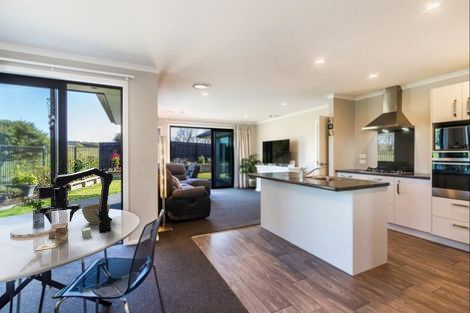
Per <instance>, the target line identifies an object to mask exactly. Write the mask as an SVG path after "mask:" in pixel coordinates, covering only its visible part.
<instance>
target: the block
mask: <svg viewBox="0 0 470 313" xmlns="http://www.w3.org/2000/svg"><path fill="white" fill-rule="evenodd" d="M90 237H92V229H91V227H86V228H81V238H83V239H85V238H90Z"/></svg>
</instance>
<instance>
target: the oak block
mask: <svg viewBox="0 0 470 313" xmlns="http://www.w3.org/2000/svg"><path fill="white" fill-rule="evenodd" d="M68 232H69V231H67V233H66V234H65V235H60V236H55V238H54V243H59V244H64V243H65V244H66V242H67V241H68V238H69V237H68V236H69V235H68V234H69V233H68Z"/></svg>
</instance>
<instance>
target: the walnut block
mask: <svg viewBox="0 0 470 313" xmlns="http://www.w3.org/2000/svg"><path fill="white" fill-rule="evenodd" d="M67 232H68V226H67V225H63V226H57V227H56V236H60V235H65V234H66V233H67Z"/></svg>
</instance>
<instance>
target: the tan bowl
mask: <svg viewBox="0 0 470 313" xmlns="http://www.w3.org/2000/svg"><path fill="white" fill-rule="evenodd" d="M99 206H100V203H98V204H97V203H96V204H89V205H86V206H83V207H82V208H81V213H82V216H83V218H84V219H85V221H86V222H87V223H89V224H90V225H99V224H100V222H101V221H99V219H97V218H96V216H95V213H96V211H95V210H96V209H98V208H99ZM107 209H108V214H109V213H110V211H111V210H110V209H111V205H110V204H109V203H107Z"/></svg>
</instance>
